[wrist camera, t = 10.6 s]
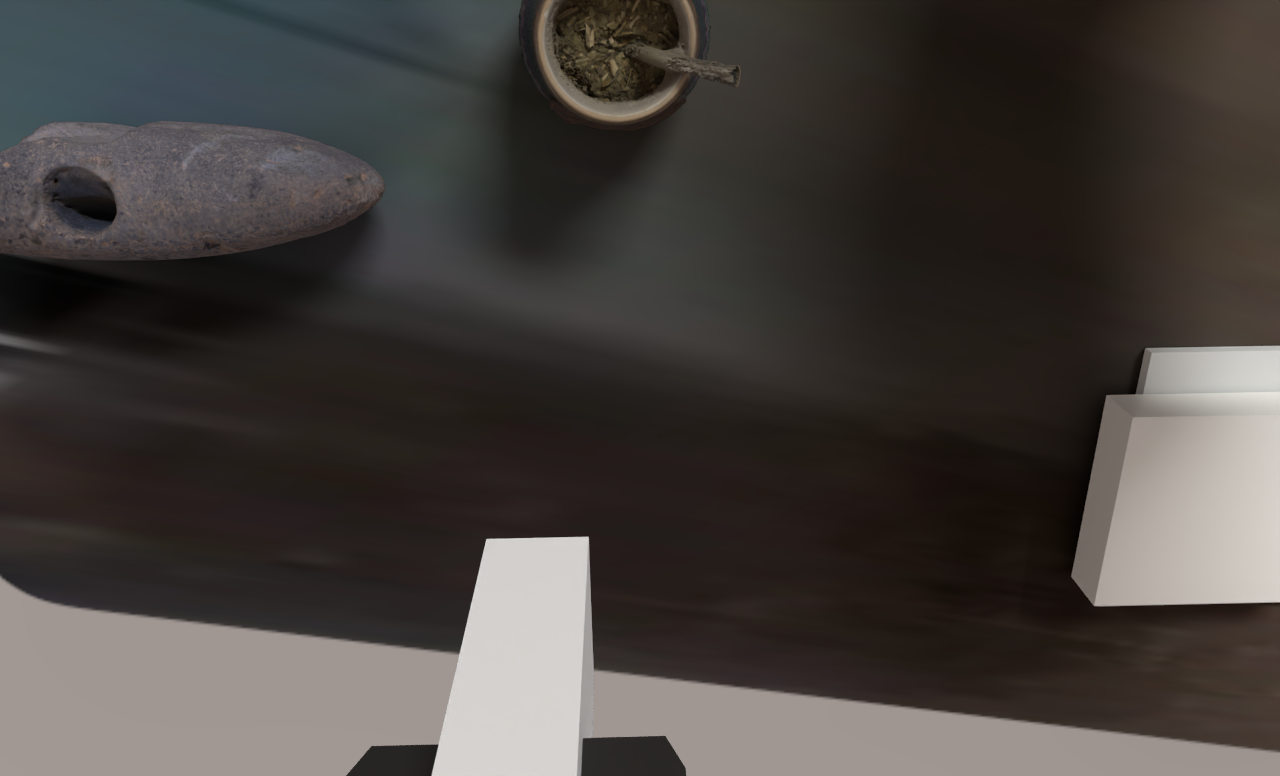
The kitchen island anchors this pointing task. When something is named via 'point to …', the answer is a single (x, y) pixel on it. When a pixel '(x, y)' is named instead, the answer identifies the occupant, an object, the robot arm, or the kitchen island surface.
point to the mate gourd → (618, 58)
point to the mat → (1209, 373)
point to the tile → (1183, 501)
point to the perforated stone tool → (173, 190)
